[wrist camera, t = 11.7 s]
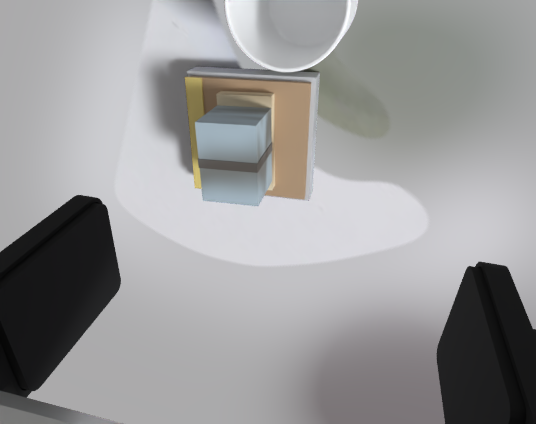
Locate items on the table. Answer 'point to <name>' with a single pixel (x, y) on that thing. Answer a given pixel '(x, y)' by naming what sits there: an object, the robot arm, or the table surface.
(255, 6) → the mug
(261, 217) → the table surface
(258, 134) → the banded blue box
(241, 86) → the dock
